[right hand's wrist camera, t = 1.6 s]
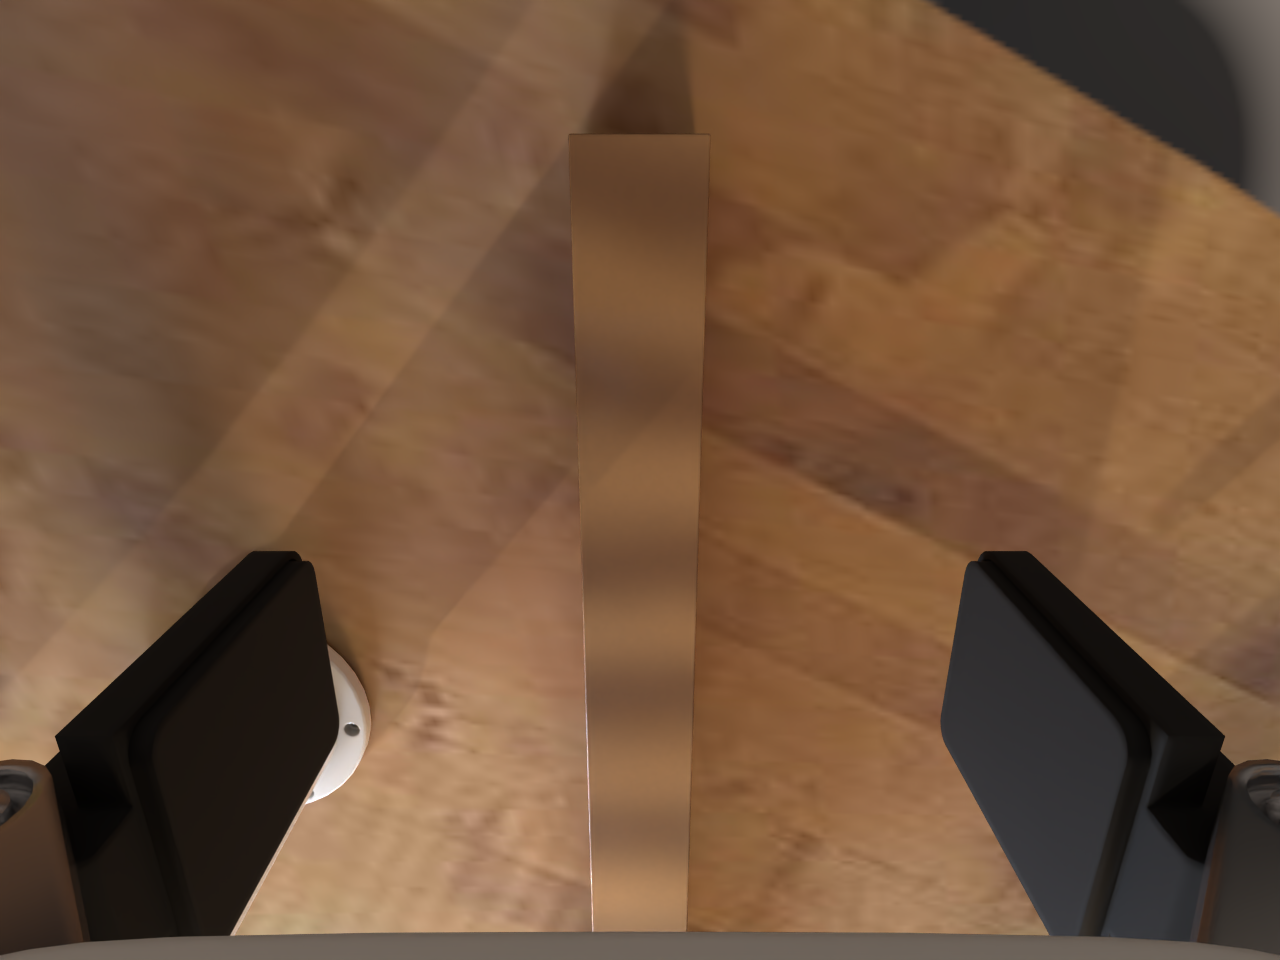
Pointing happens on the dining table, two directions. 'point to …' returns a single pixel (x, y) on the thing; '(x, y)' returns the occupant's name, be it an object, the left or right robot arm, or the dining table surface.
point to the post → (639, 506)
